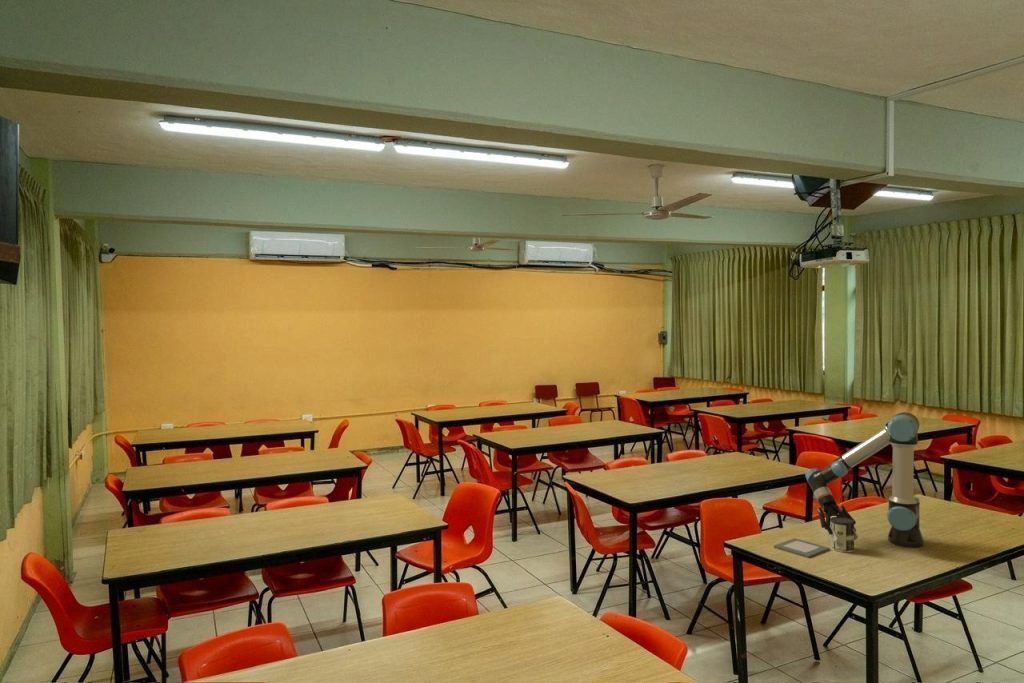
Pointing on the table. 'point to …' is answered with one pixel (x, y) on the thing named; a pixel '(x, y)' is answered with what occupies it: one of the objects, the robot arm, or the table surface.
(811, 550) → the mat
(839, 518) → the coffee can
